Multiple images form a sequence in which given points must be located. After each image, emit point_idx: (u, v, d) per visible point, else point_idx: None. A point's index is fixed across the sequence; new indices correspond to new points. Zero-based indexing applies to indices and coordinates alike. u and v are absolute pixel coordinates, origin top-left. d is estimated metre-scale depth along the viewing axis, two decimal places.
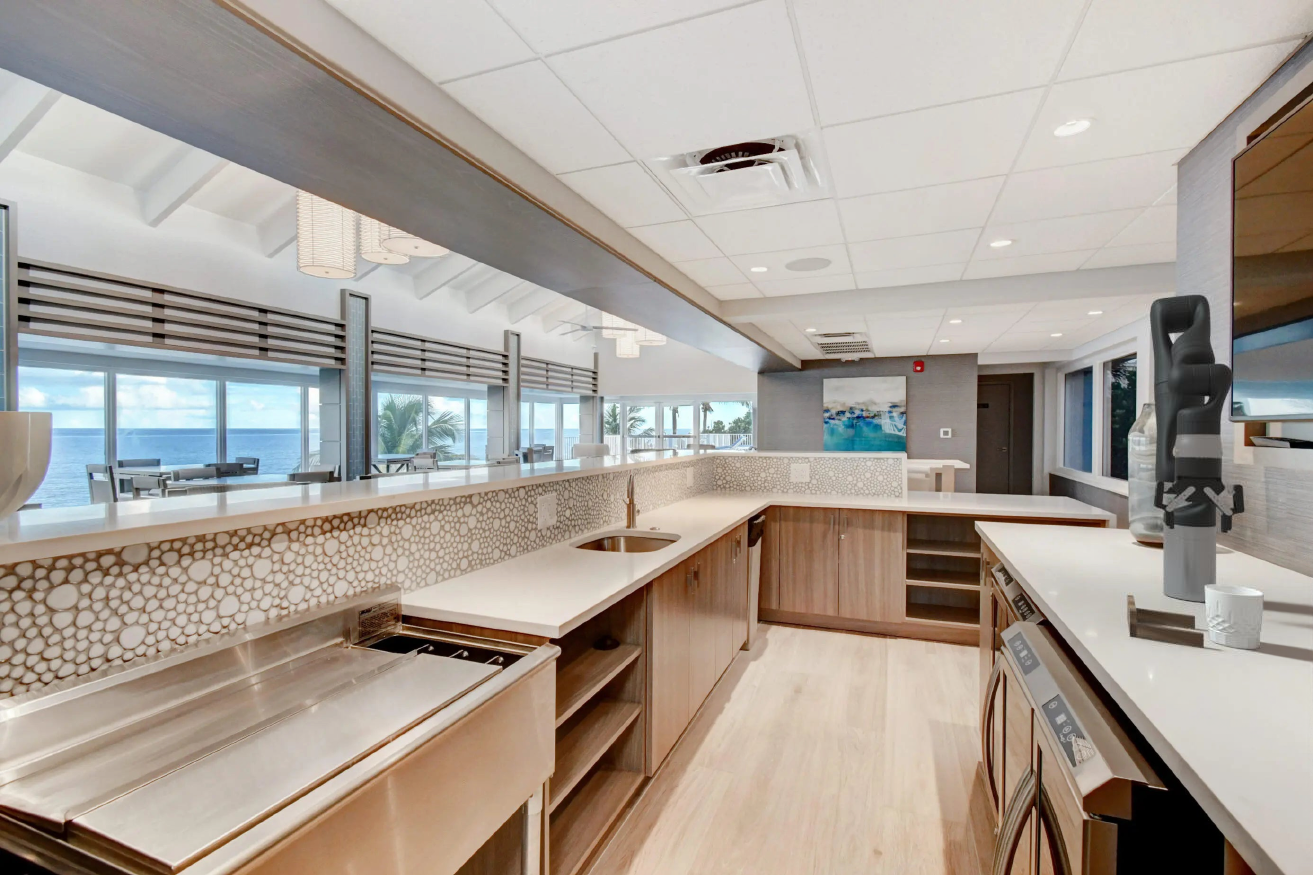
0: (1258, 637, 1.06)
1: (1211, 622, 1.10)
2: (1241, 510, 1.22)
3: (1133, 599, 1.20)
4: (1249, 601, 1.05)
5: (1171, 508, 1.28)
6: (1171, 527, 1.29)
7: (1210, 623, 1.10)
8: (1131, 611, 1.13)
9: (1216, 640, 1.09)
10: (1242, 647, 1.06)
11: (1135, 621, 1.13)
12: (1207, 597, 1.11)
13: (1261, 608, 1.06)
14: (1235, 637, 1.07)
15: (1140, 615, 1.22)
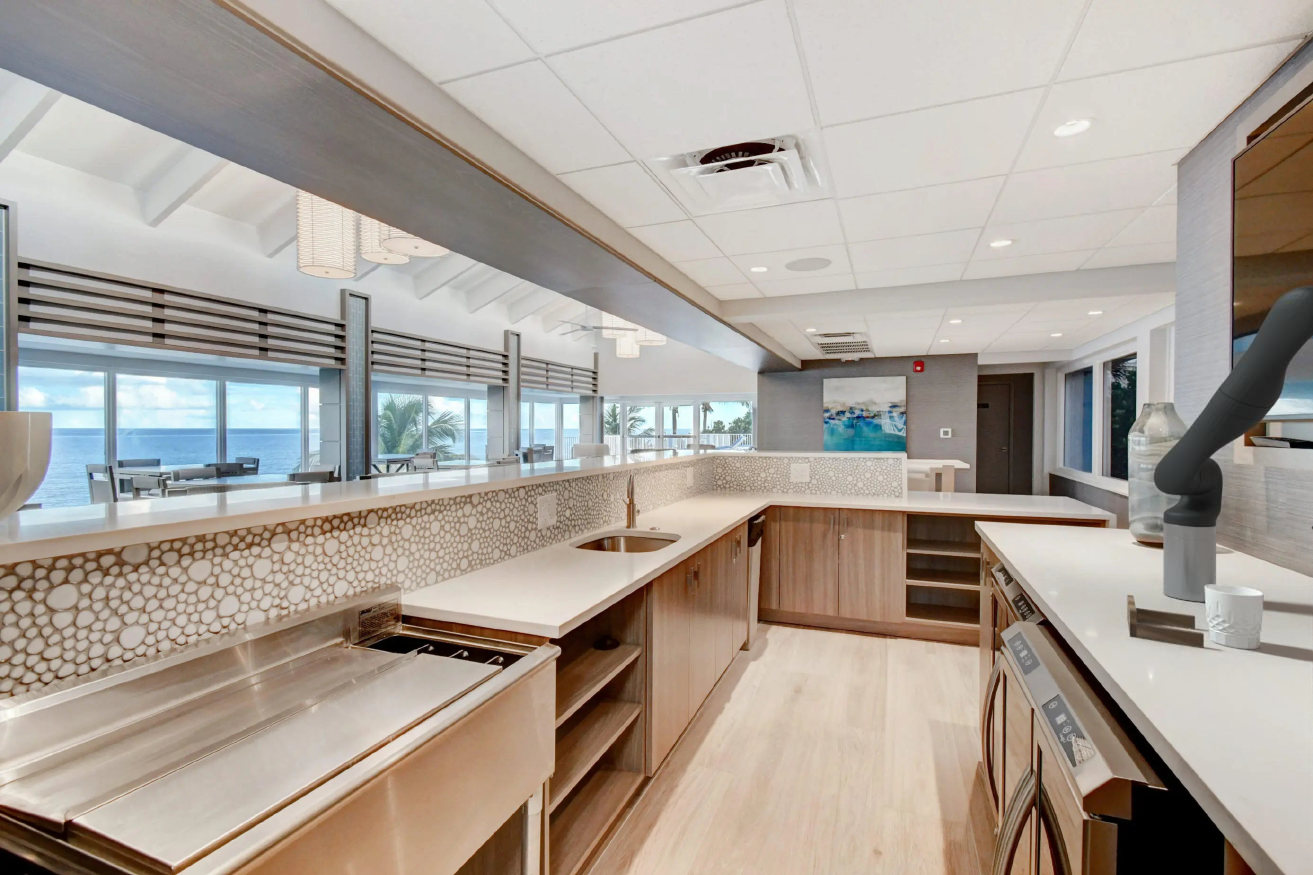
0: (1258, 637, 1.06)
1: (1211, 622, 1.10)
2: None
3: (1133, 599, 1.20)
4: (1249, 601, 1.05)
5: None
6: None
7: (1210, 623, 1.10)
8: (1131, 611, 1.13)
9: (1216, 640, 1.09)
10: (1242, 647, 1.06)
11: (1135, 621, 1.13)
12: (1207, 597, 1.11)
13: (1261, 608, 1.06)
14: (1235, 637, 1.07)
15: (1140, 615, 1.22)
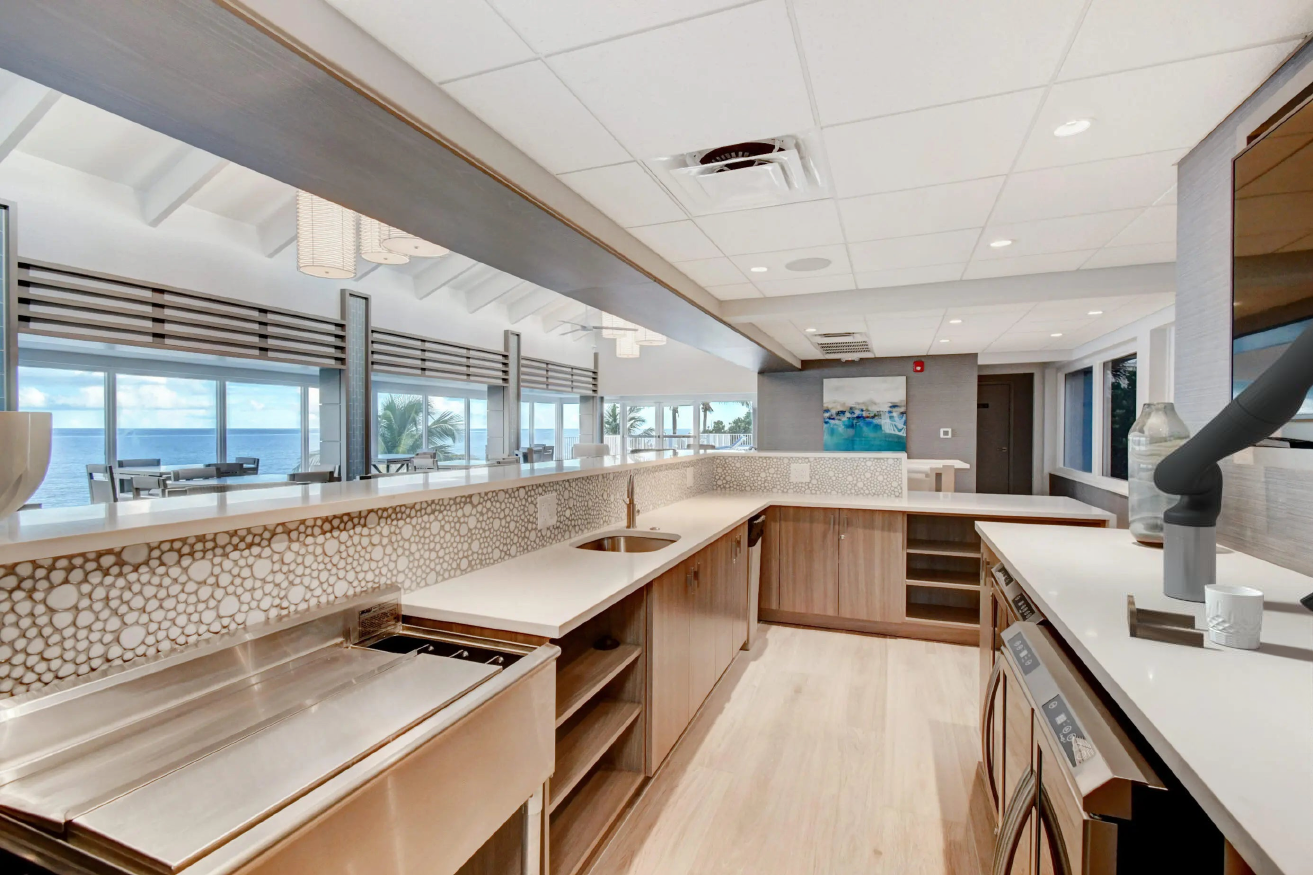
0: (1258, 637, 1.06)
1: (1211, 622, 1.10)
2: None
3: (1133, 599, 1.20)
4: (1249, 601, 1.05)
5: None
6: None
7: (1210, 623, 1.10)
8: (1131, 611, 1.13)
9: (1216, 640, 1.09)
10: (1242, 647, 1.06)
11: (1135, 621, 1.13)
12: (1207, 597, 1.11)
13: (1261, 608, 1.06)
14: (1235, 637, 1.07)
15: (1140, 615, 1.22)
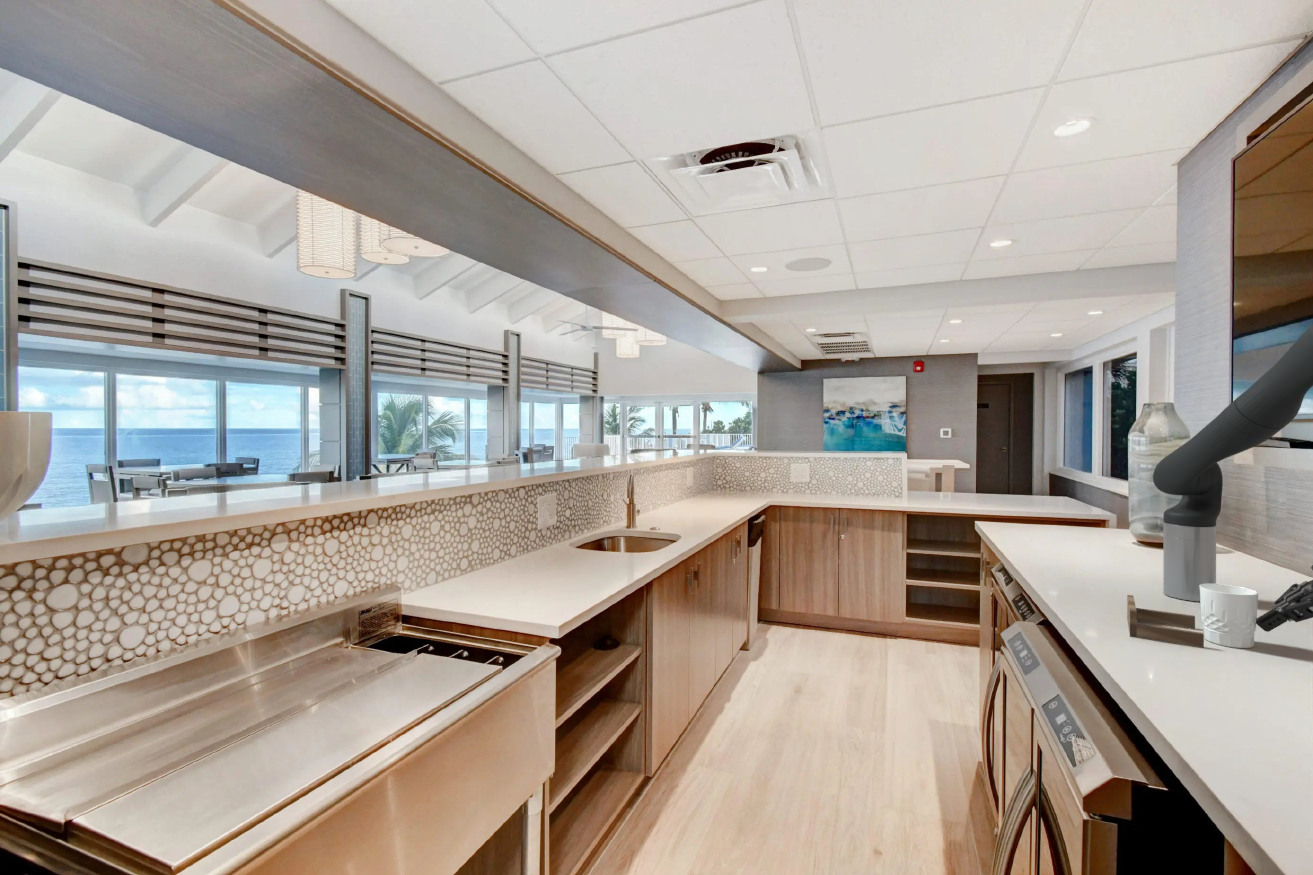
0: (1252, 636, 1.07)
1: (1206, 621, 1.10)
2: None
3: (1133, 599, 1.20)
4: (1243, 600, 1.06)
5: None
6: None
7: (1205, 622, 1.11)
8: (1131, 611, 1.13)
9: (1210, 639, 1.10)
10: (1236, 646, 1.07)
11: (1135, 621, 1.13)
12: (1202, 596, 1.11)
13: (1255, 607, 1.06)
14: (1229, 636, 1.07)
15: (1140, 615, 1.22)
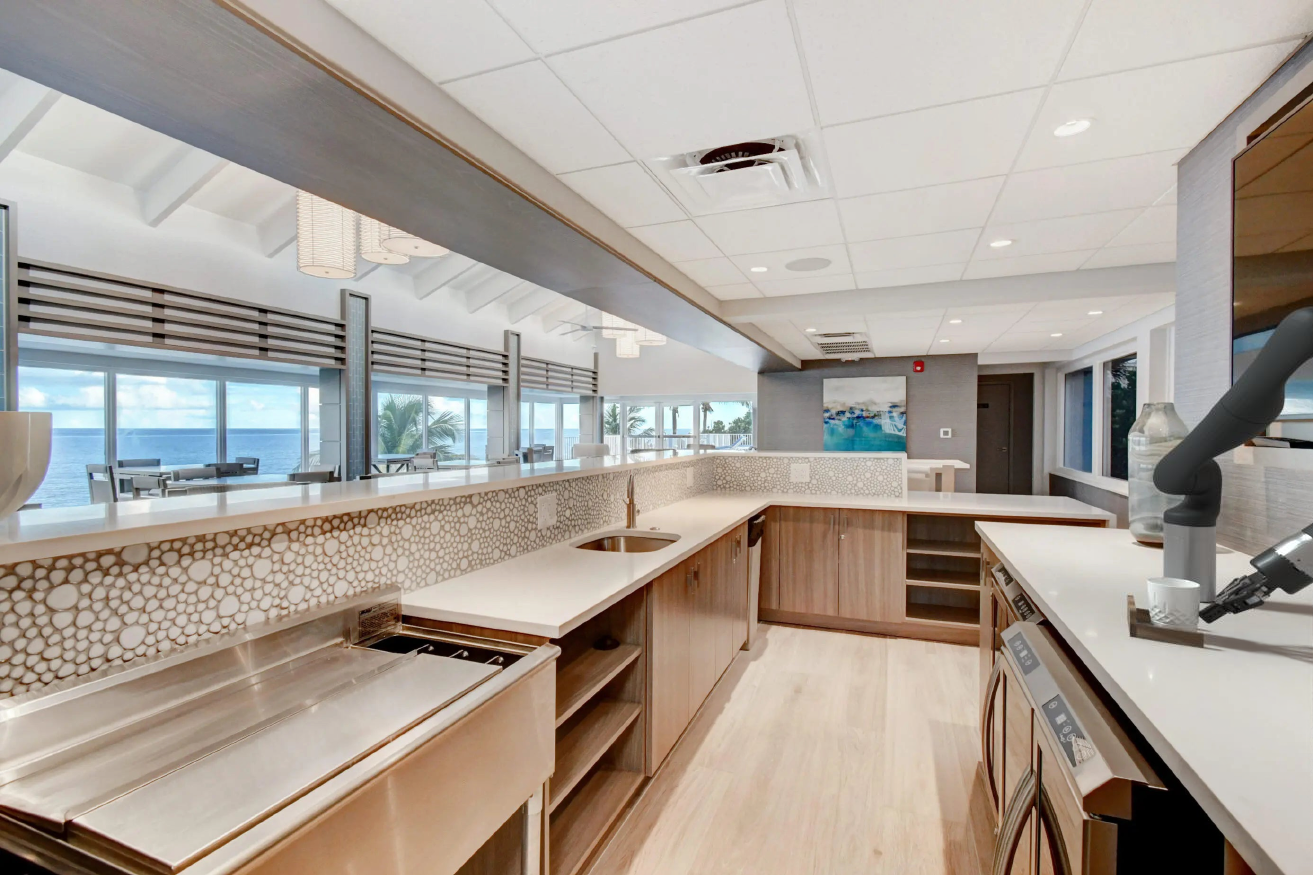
0: (1194, 627, 1.11)
1: (1151, 613, 1.16)
2: None
3: (1133, 599, 1.20)
4: (1182, 592, 1.11)
5: None
6: None
7: (1150, 614, 1.16)
8: (1131, 611, 1.13)
9: None
10: None
11: (1135, 621, 1.13)
12: (1147, 589, 1.16)
13: (1196, 600, 1.11)
14: (1171, 627, 1.12)
15: (1140, 615, 1.22)
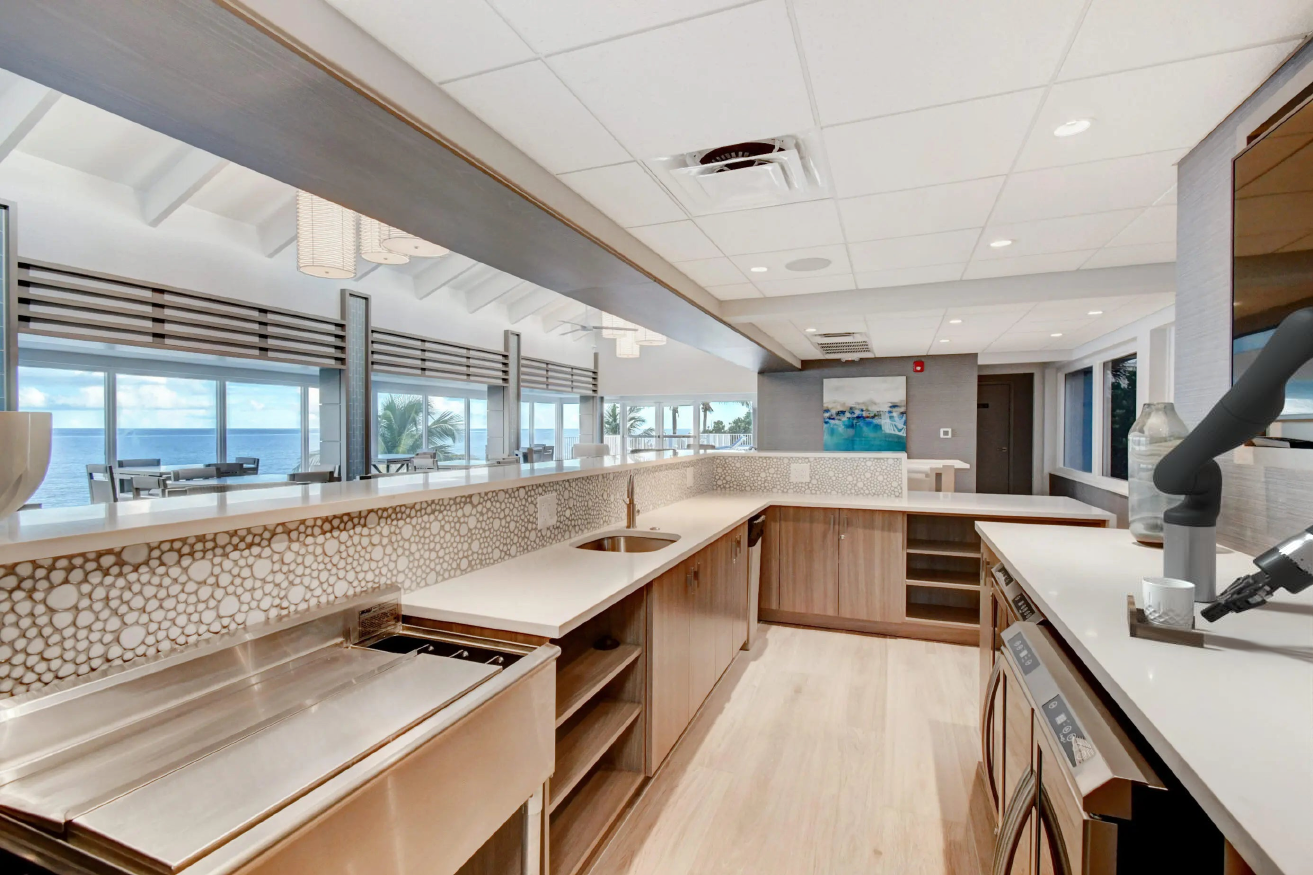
0: (1188, 627, 1.12)
1: (1146, 612, 1.16)
2: None
3: (1133, 599, 1.20)
4: (1177, 592, 1.11)
5: None
6: None
7: (1145, 613, 1.17)
8: (1131, 611, 1.13)
9: None
10: None
11: (1135, 621, 1.13)
12: (1143, 588, 1.17)
13: (1190, 600, 1.11)
14: None
15: (1140, 615, 1.22)
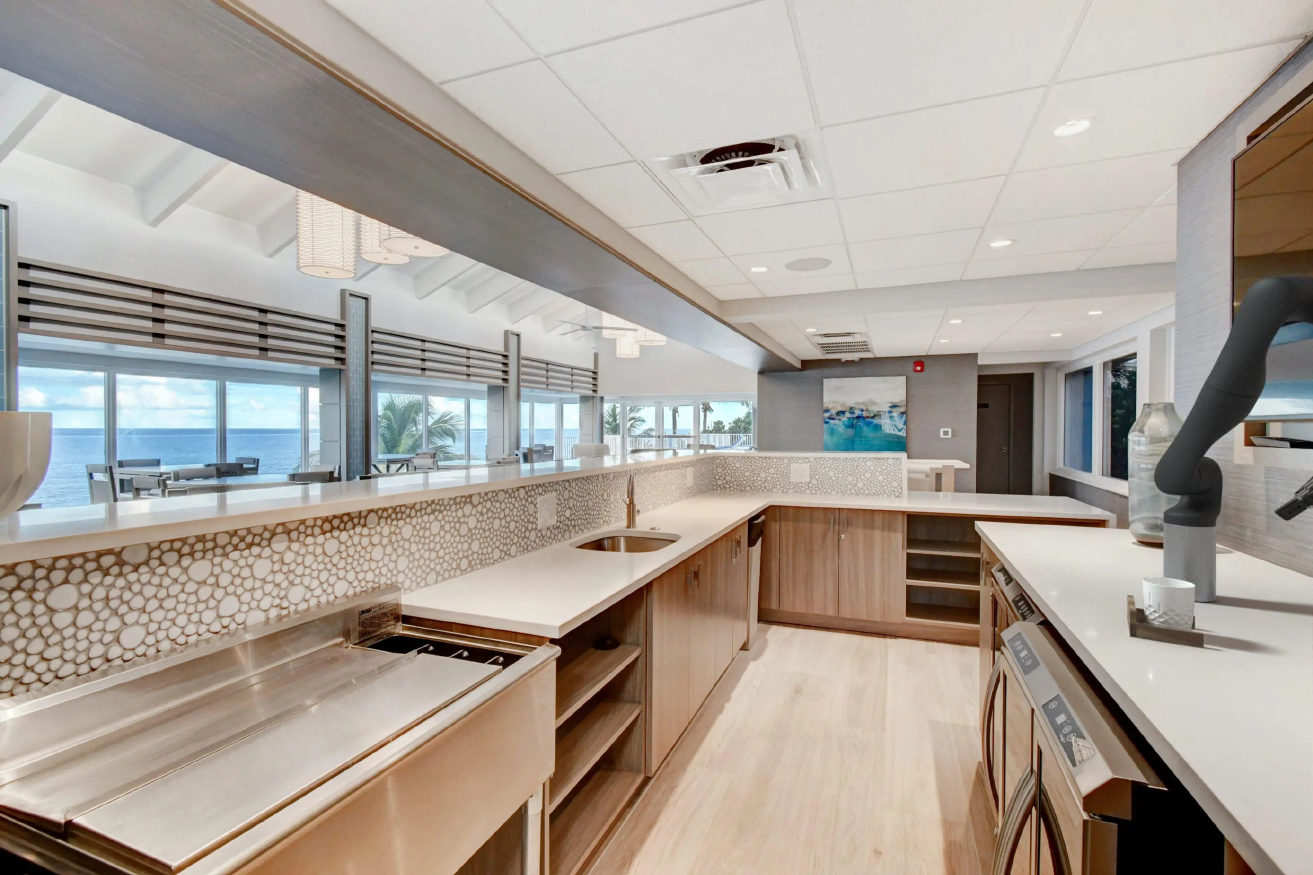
0: (1188, 627, 1.12)
1: (1146, 612, 1.16)
2: None
3: (1133, 599, 1.20)
4: (1177, 592, 1.11)
5: None
6: None
7: (1145, 613, 1.17)
8: (1131, 611, 1.13)
9: None
10: None
11: (1135, 621, 1.13)
12: (1143, 588, 1.17)
13: (1191, 600, 1.11)
14: None
15: (1140, 615, 1.22)
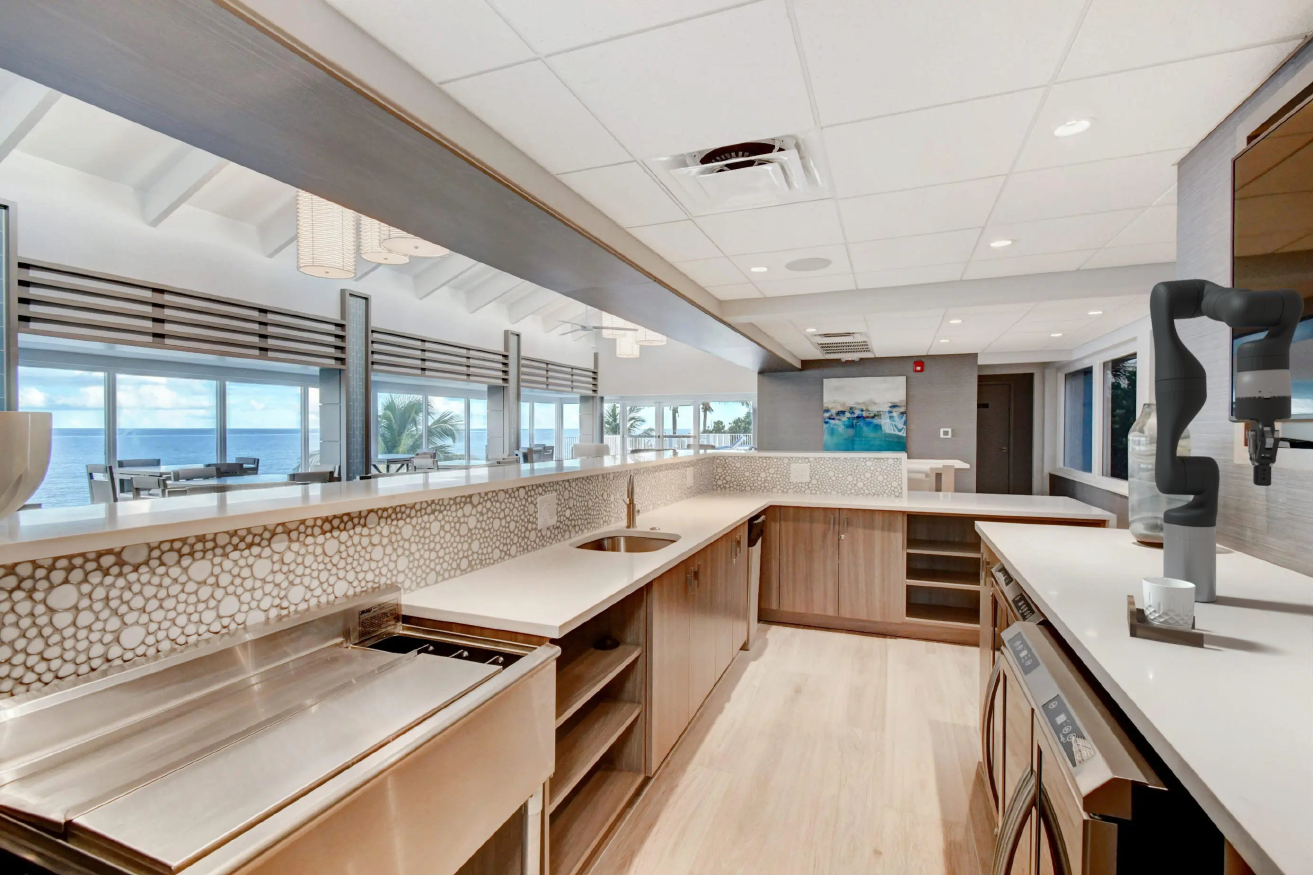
0: (1188, 627, 1.12)
1: (1146, 612, 1.16)
2: None
3: (1133, 599, 1.20)
4: (1177, 592, 1.11)
5: None
6: (1270, 484, 1.11)
7: (1145, 613, 1.17)
8: (1131, 611, 1.13)
9: None
10: None
11: (1135, 621, 1.13)
12: (1143, 588, 1.17)
13: (1191, 600, 1.11)
14: None
15: (1140, 615, 1.22)
